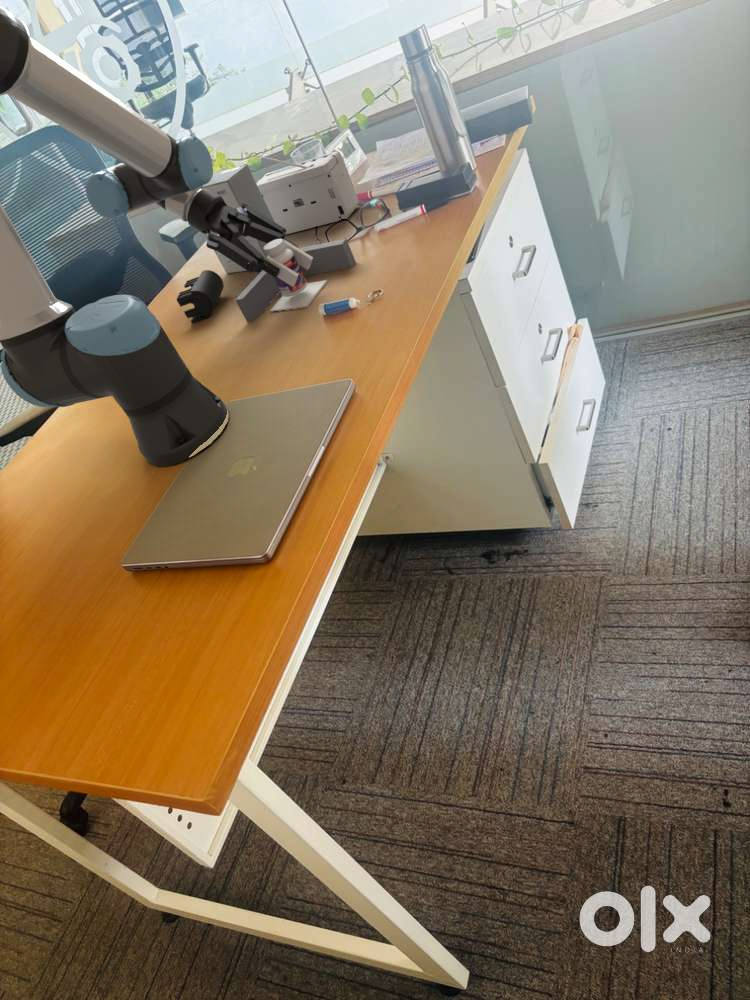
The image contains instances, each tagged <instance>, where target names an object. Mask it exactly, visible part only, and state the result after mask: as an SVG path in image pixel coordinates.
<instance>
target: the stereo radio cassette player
mask: <svg viewBox="0 0 750 1000" xmlns="http://www.w3.org/2000/svg"><path fill="white" fill-rule="evenodd" d="M244 155H245V156H248V155H250V156H252V157H257V158H260V159H264V160H268V161H271V162H274V163H275V162H276V163H280V164H284V165H288V166H286V167H285V166H284V167H282V168H279V169H276V170H272V171H271V172H268V173H265V174H264V176H262V177H261V178H260V179H258V181H257V182H256V184H257V186H258V188H259V190H260V192H261V194H262V197H263V199H264V201H265V203H266V205H267V207H268V209H269V211H270V213H271V215H272V217H273V219H274V221H275V223H277V224H278V225H280V226H282V227H283V228H285V229H286V235H290V234H293V233H298V232H301V231H305V230H310V229H313V228H316V226H317V227H321V226H323V225H327V224H331V223H335V222H339V220H340V221H342V220H341V219H347V220H348V218H349V217H350V216H351V214H353V212H354V211H355V210H356V209H357V207H358V206H357V205H358V204H359V203H360V201H359V198H358V195H357V194H358V193H357V191H356V189H355V186H354V183H353V180H352V178H351V176H350V173H349V170H348V168H347V165H346V163H345V161H344V158H343V156H342V154H341V152H340V151H338V150H337V151H333V152H328V153H326V154H323V155H320V156H317V157H313V158H310V159H307V160H303V161H302V162H298V163H293V162H289V161H284V160H281V159H280V160H279V159H276V158H271V157H267V156H261V155H256V154H251V153H248V152H245V153H244Z"/></svg>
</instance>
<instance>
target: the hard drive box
mask: <svg viewBox="0 0 750 1000" xmlns="http://www.w3.org/2000/svg"><path fill="white" fill-rule="evenodd" d="M256 183H257V182H256V180H255V178H254V176H253V173H252V172H251V170H250V168H249V166H248V164H244V165H240V166H238V167H237V166H236V167H234V168H230V169H226V170H222V171H219V172H216V173H213V176H212V178H211V180H210V181H209V182H208V183H207V184H205V185H204V187H205V188H209V189H210V190H212V191H213V192H215V193H217V194H218V195H220V196H221V197H222V198H223V199H224V202H225V203H226V204H227V205H228V206H231V207H234V208H236V209H237V208H240V207H242V203H243V202H245V203H247V204H248V205H249V206H250V207H251V208H252V209H253V210H255V211H257V212H258V213H260V214H262V215H263V216H265V217H267V218H268V219H270V220H272V221H273V222H275V221H274V219H273V217H272V215H271V213H270V211H269V209H268V207H267V205H266V203H265V201H264V199H263V197H262V194H261V192H260V190H259V188H258V186H257V184H256ZM244 228H245V224H244ZM244 228H243V229H244ZM204 235H205V237H206V240H207V239H208V233H207V234H204ZM243 237H244V236H243ZM244 238H245V239H246V240H247V241H248V242H249V243H250V244H251V245H252V246H253V247H254V248H255V249H256V250H257V251H259V252H260V253H261V254H262V255H263V256H264V257H265V260H266V257H267V255H266V253H265V251H264V249H263V248H264V246H265V245H266V244H267V243H265V242H262V241H260V240H257V239H255V238H252V237H250V236H246V237H244ZM213 251H214V253H215V255H216V257H217V259H218V260H219V262H220V264H221V265H222V268H223V269H224V271H225V273H226V274H232V273H234V272H235V273H240V272H248V271H247V270H246V269H244V268H242V267H241V266H239V265H238V264H236V263H235V262H233V261H232V260H230V259H229V258H227V257H226V256H224V255H223V254H221V253H220V252H218V251H216V250H213ZM248 264H249V262H248Z"/></svg>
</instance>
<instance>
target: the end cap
mask: <svg viewBox="0 0 750 1000" xmlns="http://www.w3.org/2000/svg"><path fill="white" fill-rule="evenodd" d="M189 287H190V288H189ZM224 287H225V286H224V281H223V278H222V276H220V275H219V274H218V273H217V272H215V271H213V270H209V269H204V270H202V271H201V272H200V274H199V276H197V277H193V278H191V279H188V280H186V283H184V285H183V288H184V289H187V288H188V289H187V290H184V291H180V292H179V293H178V295H177V297H176V302H177V303H178V305H179V307H184V306H187V305H190V304H192V305H193V308H190V309H189V308H188V309H187V310H185V311H183V313H184V315H185V316H186V318H187V319H191V320H190V323H191V324H196V323H198V322H203V321H204V320H208V319H209V318H210V317H211V316H212V313H213V312H214V309H215V308H216V306H217V304H218V302H219V300H220V298H221V296H222V294H223V291H224Z"/></svg>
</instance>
